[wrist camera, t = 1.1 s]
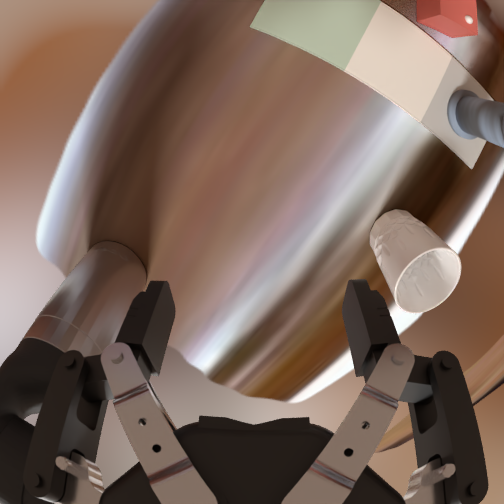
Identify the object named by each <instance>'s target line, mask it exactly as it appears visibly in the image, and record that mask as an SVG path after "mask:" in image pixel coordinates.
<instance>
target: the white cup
mask: <svg viewBox="0 0 504 504" xmlns="http://www.w3.org/2000/svg"><path fill="white" fill-rule="evenodd" d="M370 245H371V247H372V249H373V251H374V253H375V255H376V258H377V262H378V264H379V266H380V269H381V271H382V273H383V275H384V277H385V279H386V281H387V284H388V286H389V288H390V290H391V292H392V295H393V297H394V299H395V301H396V304H397V305H398V307H399V308H400V309H402V310H403V311H405V312H408V313H422V312H426V311H428V310H431V309H433V308H435V307H436V306H438V305H439V304H440V303H442V302H443V301H444V300H445V299H446V298H447V297H448V296H449V295H450V294H451V293H452V291H453V290H454V288H455V287H456V285H457V283H458V281H459V277H460V274H461V261H460V258H459V256H458V255H457V253H456V252H455V251H454V250H453V249H452V248H451V247H449V246H448V245H447V244H446V243H445V242H444V241H443V240H442V239H441V238H440V237H439V236H438V235H436V234H435V233H434V232H433V231H432V230H431V229H430V228H429V227H428V226H426V225H425V224H424V223H423V222H421V221H419V220H417V219H416V218H415V217H414V216H413V215H411V214H410V213H409V212H408V211H406V210H399V209H394V210H392V211H389V212H386V213H384V214H383V215H382V216H381V217H380V218H378V219H377V220H376V221H375V223H374V225H373V227H372V229H371V231H370Z"/></svg>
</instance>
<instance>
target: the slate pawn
mask: <svg viewBox="0 0 504 504" xmlns="http://www.w3.org/2000/svg"><path fill="white" fill-rule="evenodd" d="M447 116H448V121H449V124H450V126H451V128H452V129H453V131H454V132H455V133H456V134H457V135H458V136H460V137H462V138H465V139H469V140H472V139H475V138H477V137H478V138H481V139H484V140H486V141H489V142H491V143H494V144H496V145H499V146H501V147H503V148H504V103H501V102H497V101H492V100H487V99H482V98H479V97H478V96H477V95H476V94H475V93H474V92H472V91H469V90H457V91H456V92H454V93H453V94H452V95H451V97H450V99H449V101H448V106H447Z"/></svg>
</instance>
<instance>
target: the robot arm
mask: <svg viewBox="0 0 504 504" xmlns="http://www.w3.org/2000/svg"><path fill="white" fill-rule="evenodd" d="M145 284H146V272H145V268H144V266H143V264H142V262H141V261H140V259H139V258H138V257H137V256H136V255H135V253H134V252H133V251H131V250H130V249H129V248H127V247H125V246H124V245H122V244H119V243H116V242H111V241H104V242H99V243H97V244H95V245H94V246H93V247H92V248H91V249H90V250H89V251H88V252H87V254H86V255H85V256H84V257H83V258H82V259H81V261H80V262H79V263H78V264H77V265H76V266H75V268H74V269H73V270H72V271H71V273H70V274H69V275H68V276H67V278H66V279H65V280H64V281H63V283H62V284H61V285H60V287H59V288H58V290H57V291H56V292H55V293H54V295H53V296H52V297H51V299H50V300H49V301H48V303H47V304H46V305H45V307H44V308H43V310H42V311H41V312H40V314H39V315H38V317H37V318H36V319H35V321H34V323H33V324H32V326H31V327H30V328H29V330H28V331H27V333H26V334H25V336H24V338H23V339H22V341H21V342H20V344H19V345H18V347H17V348H16V350H15V351H14V352H13V353H12V354H11V355H9V356H8V357H7V359H6V360H5V361H4V362H3V364H2V366H1V367H0V504H479V503H480V502H481V501H482V500H483V498H484V497H485V495H486V493H487V490H488V477H487V470H486V465H485V458H484V453H483V447H482V442H481V437H480V433H479V429H478V424H477V420H476V416H475V412H474V409H473V405H472V401H471V398H470V394H469V391H468V388H467V384H466V381H465V378H464V375H463V372H462V369H461V366H460V364H459V361H458V359H457V358H456V356H455V355H454V354H452V353H450V352H448V351H439V352H437V353H436V354H435V355H434V356H433V358H429V357H422V356H417V355H414V354H413V353H412V351H411V350H410V349H409V348H408V347H407V346H405V345H402V344H401V342H400V340H399V337H398V334H397V331H396V328H395V326H394V323H393V320H392V318H391V316H390V313H389V310H388V309H387V305H386V302H385V300H384V298H383V297H382V296H381V295H380V294H379V292H378V291H377V290H373V291H371V290H370V288H369V285H368V282H367V280H366V279H358V280H349V281H348V285H347V289H346V293H345V297H344V301H343V307H342V314H343V320H344V324H345V328H346V332H347V337H348V341H349V346H350V350H351V355H352V359H353V364H354V369H355V374H356V377H358V376H364V378H365V383H366V385H365V386H364V388H363V390H362V391H361V393H360V395H359V396H358V398H357V400H356V401H355V403H354V405H353V406H352V408H351V410H350V411H349V413H348V414H347V416H346V417H345V419H344V420H343V422H342V423H341V425H340V427H339V428H338V429H337V431H336V432H335V434H334V433H333V432H331V431H330V430H328V429H326V428H324V427H321V426H318V425H315V424H310V422H309V417H303V418H282V419H278V420H274V421H269V422H265V423H261V424H255V425H252V424H248V423H244V422H240V421H237V420H233V419H229V418H225V417H211V416H199V422H195V423H191V424H188V425H185V426H183V427H181V428H179V429H177V428H176V426H175V425H174V423H173V422H172V420H171V419H170V417H169V415H168V414H167V412H166V410H165V408H164V407H163V405H162V403H161V401H160V400H159V398H158V396H157V394H156V392H155V390H154V388H153V386H152V385H151V383H150V381H149V379H150V376H151V375H153V376H159V374H160V370H161V366H162V362H163V358H164V354H165V350H166V347H167V343H168V340H169V336H170V332H171V329H172V325H173V322H174V318H175V304H174V301H173V297H172V294H171V290H170V287H169V283H168V282H167V281H150V283H149V285H148V287H147V290H146V292H142V291H143V289H144V287H145ZM111 399H115V400H114V401H113V404H114V407H115V410H116V412H117V414H118V417H119V419H120V422H121V424H122V426H123V428H124V431H125V433H126V435H127V437H128V439H129V441H130V443H131V445H132V447H133V449H134V451H135V453H136V455H137V457H138V459H139V462H138V463H137V464H136V465H134V466H133V467H132V468H131V469H130V470H128V471H127V472H126V473H125V474H124V475H122V476H121V477H120V478H118V479H117V480H116V481H115V482H113V483H112V484H111V485H110V486H108V487H107V488H106V489H104V488H103V485H102V475H101V471H100V469H99V468H98V466H97V465H96V464H95V461H96V455H97V450H98V445H99V440H100V435H101V430H102V425H103V421H104V417H105V413H106V409H107V405H108V401H109V400H111ZM398 401H403V402H408V406H409V411H410V417H411V422H412V428H413V435H414V441H415V448H416V456H417V465H418V469H417V470H415V471H414V473H413V474H412V475H411V477H410V479H409V486H408V491H407V493H406V495H405V496H404V497H402V496H401V495H400V494H399V493H398V492H397V491H396V490H395V489H394V488H392V487H391V486H390V485H389V484H388V483H387V482H385V480H383V479H382V478H381V477H380V476H379V475H378V474H377V473H376V472H374V471H373V470H372V469H371V468H370V467H369V466H368V465H367V463H368V462H369V460H370V458H371V457H372V455H373V453H374V452H375V450H376V448H377V446H378V445H379V443H380V441H381V439H382V437H383V436H384V434H385V432H386V430H387V428H388V426H389V424H390V422H391V420H392V418H393V416H394V414H395V412H396V410H397V408H398ZM37 413H39V415H38V419H37V422H36V426H33V425H31V424H29V423H28V422H27V421H25V420H24V419H25V418H26V417H27V416H29V415H31V414H37Z"/></svg>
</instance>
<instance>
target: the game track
mask: <svg viewBox="0 0 504 504" xmlns="http://www.w3.org/2000/svg"><path fill="white" fill-rule="evenodd" d="M250 28H253V29H256V30H258V31H261V32H263V33H266V34H268V35H271V36H273V37H276V38H278V39H280V40H283V41H285V42H287V43H289V44H292V45H294V46H296V47H298V48H300V49H302V50H304V51H307V52H309V53H311V54H313V55H315V56H317V57H318V58H320V59H322V60H324V61H326V62H328V63H330V64H332V65H334V66H335V67H337V68H339V69H341V70H342V71H344V72H346V73H348V74H349V75H351V76H353V77H354V78H356V79H358V80H359V81H361V82H362V83H364V84H366V85H367V86H369V87H370V88H372V89H373V90H375V91H376V92H378V93H379V94H381V95H382V96H384V97H385V98H387V99H388V100H390V101H391V102H393V103H394V104H395V105H397V106H398V107H399V108H401V109H402V110H404V111H405V112H406V113H408V114H409V115H410V116H411V117H413V118H414V119H415V120H417V121H418V122H419V123H420V124H422V125H423V126H424V127H425V128H427V129H428V130H429V131H430V132H431V133H433V134H434V135H435V136H436V137H437V138H438V139H440V140H441V141H442V142H443V143H444V144H445V145H446V146H447V147H449V148H450V149H451V150H452V151H453V152H454V153H455V154H456V155H457V156H458V157H459V158H460V159H461V160H462V161H464V162H465V163H466V164H467V165H468V166H469V167H470V168H471V169H472V168H473V166H474V164H475V162H476V160H477V159H478V157H479V155H480V153H481V151H482V149H483V147H484V145H485V143H486V140H484V139H481V138H478V137H477V138H475V139H472V140H469V139H465V138H462V137H460V136H458V135H457V134H456V133H455V132H454V131H453V129H452V128H451V126H450V124H449V121H448V116H447V106H448V101H449V99H450V97H451V95H452V94H453V93H454V92H456V91H457V90H469V91H472V92H474V93H475V94H476V95H477V96H478V97H479V98H482V99H487V100H492V101H494V100H493V99H492V98H491V96H490V95H489V94H488V93H487V92H486V91H485V89H484V88H483V87H482V86H481V85H480V84H479V83H478V82H477V81H476V80H475V79H474V77H473V76H472V75H471V74H470V73H469V72H468V71H467V70H466V69H465V68H464V67H463V66H462V65H461V64H460V63H459V62H458V61H457V60H456V59H455V58H453V57H452V56H451V55H450V54H449V53H448V52H447V51H446V50H445V49H444V48H443V47H441V46H440V45H439V44H438V43H437V42H436V41H434V40H433V39H432V38H431V37H430V36H428V35H427V34H426V33H425V32H423V31H422V30H421V29H420V28H418V27H417V26H416V25H414V24H413V23H412V22H410V21H409V20H408V19H406V18H405V17H404V16H402V15H401V14H399V13H398V12H396V11H395V10H394V9H392V8H391V7H389V6H388V5H386V4H384V3H383V2H381V1H380V0H265V1H264V2H263V4H262V6H261V8H260V9H259V11H258V13H257V15H256V16H255V18H254V20H253V22H252V24H251V25H250Z"/></svg>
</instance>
